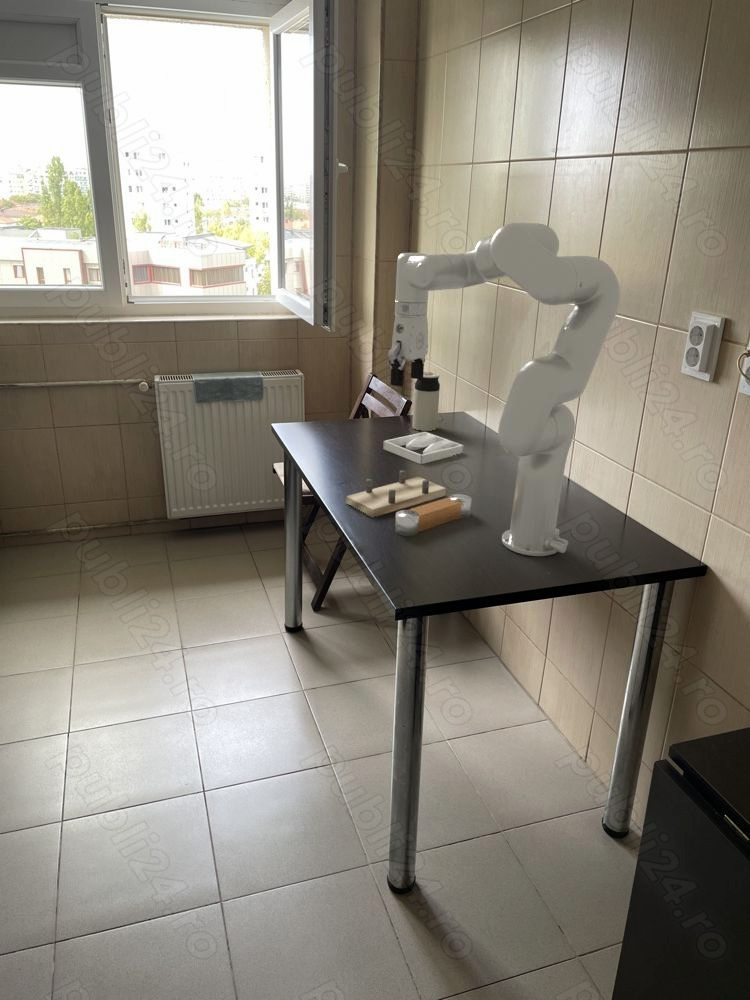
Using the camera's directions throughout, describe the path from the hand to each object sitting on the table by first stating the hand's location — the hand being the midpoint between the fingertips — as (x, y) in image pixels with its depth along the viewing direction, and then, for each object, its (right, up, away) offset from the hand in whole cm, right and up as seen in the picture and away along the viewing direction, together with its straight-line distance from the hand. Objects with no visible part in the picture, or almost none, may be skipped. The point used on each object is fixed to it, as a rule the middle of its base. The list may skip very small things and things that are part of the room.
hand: (407, 382), depth 176 cm
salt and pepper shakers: (+7, -14, +42) cm, 45 cm away
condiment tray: (+6, -14, +41) cm, 44 cm away
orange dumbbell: (+6, -33, -7) cm, 35 cm away
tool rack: (-2, -28, +5) cm, 29 cm away
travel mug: (+8, -5, +63) cm, 64 cm away
